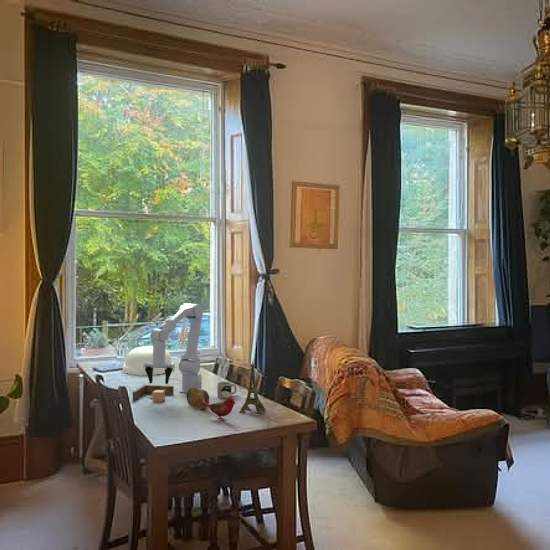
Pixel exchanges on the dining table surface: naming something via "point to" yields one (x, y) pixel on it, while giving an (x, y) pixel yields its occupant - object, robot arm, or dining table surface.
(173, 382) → the dining table surface
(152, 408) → the dining table surface
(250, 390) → the eiffel tower
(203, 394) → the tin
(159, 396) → the cube
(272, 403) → the dining table surface
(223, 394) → the mug
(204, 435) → the dining table surface
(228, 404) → the decorative bird figurine
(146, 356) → the dome cover
